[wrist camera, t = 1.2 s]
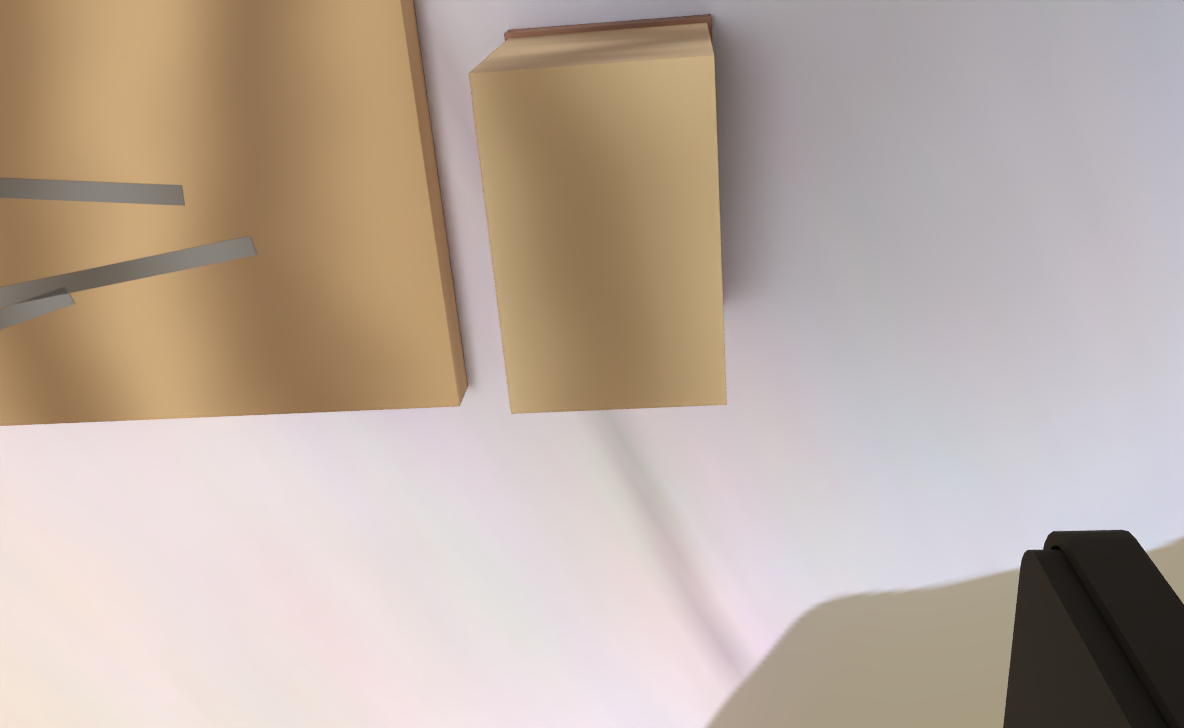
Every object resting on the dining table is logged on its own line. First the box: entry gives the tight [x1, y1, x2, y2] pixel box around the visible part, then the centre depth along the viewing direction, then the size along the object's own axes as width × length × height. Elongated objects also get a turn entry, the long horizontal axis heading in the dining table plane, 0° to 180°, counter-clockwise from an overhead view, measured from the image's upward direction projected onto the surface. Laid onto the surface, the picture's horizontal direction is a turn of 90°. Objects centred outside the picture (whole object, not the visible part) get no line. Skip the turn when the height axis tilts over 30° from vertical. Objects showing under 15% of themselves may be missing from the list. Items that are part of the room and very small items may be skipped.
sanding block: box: [469, 14, 727, 414], centre depth 24 cm, size 5×7×6 cm, turn 5°
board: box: [0, 0, 468, 426], centre depth 27 cm, size 20×11×1 cm, turn 95°
